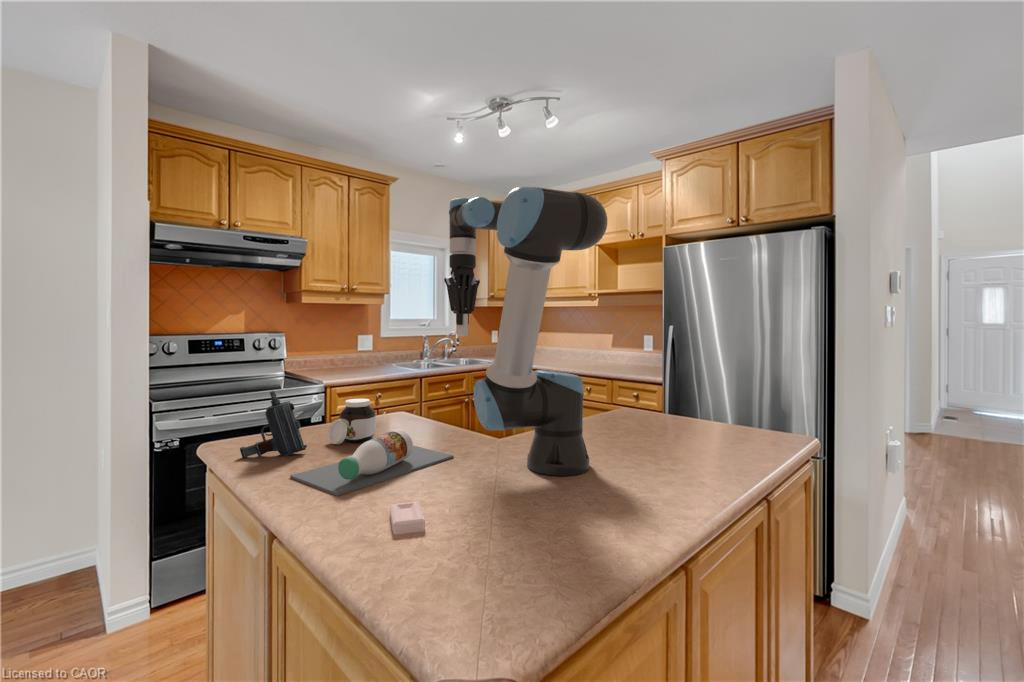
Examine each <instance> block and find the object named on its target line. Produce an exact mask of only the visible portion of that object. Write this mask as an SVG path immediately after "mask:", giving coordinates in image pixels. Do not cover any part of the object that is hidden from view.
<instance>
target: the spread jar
mask: <svg viewBox="0 0 1024 682" xmlns="http://www.w3.org/2000/svg"><path fill="white" fill-rule="evenodd" d="M344 405H345V407H344V408H343V410H341V412H340V414H339V416H338V419H334V421H332V422H331V423H330V425H329V426H328V429H327V439H328V442H329V443H330V444H331V445H340V444H342V443H344V442H347V443H349V444H350V443H351V444H359V443H361V444H363V443H365V442H367V441H369V440H371V439H373V437H375V435H376V433H377V426H378V425H377V414H376V413H377V412H376V411H375V409H374V408H372V407H371V406H370V405H371V400H370V399H369V398H351V399H346V400H345V404H344Z"/></svg>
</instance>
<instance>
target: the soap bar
mask: <svg viewBox="0 0 1024 682" xmlns="http://www.w3.org/2000/svg"><path fill="white" fill-rule="evenodd" d="M389 517H390V523H391V529H392V534H393V535H395V536H396V535H405V534H406V535H407V534H413V533H414V534H415V533H421V532H424V531H425V530H426V519H425V516H424V513H423V509H422V507H421V504H420V502H419V501H412V502H411V501H408V502H400V503H392V504H390V505H389Z"/></svg>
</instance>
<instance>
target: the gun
mask: <svg viewBox="0 0 1024 682" xmlns="http://www.w3.org/2000/svg"><path fill="white" fill-rule="evenodd" d="M269 394H270V398H271V400H270V403H271V405H270V406H268V407H266V411H265V413H264V414H265V418H266V419H267V423H268V424H266V425H264V426H263V427H262V428H261V430H260V435H261V437H262V441H257V442H256V443H255V444H251V445H249V446H241V447H239V451H240V454H241V457H242V459H246V458H248V457H251V456H253V455H254V456H255V455H257V456H258V457H261V456H263V455H264V454H266V453H269V452H278V454H279V455H280V456H281V457H283V458H284V457H286V456H289V455H292V454H296V453H300V452H302V451H306V449H307V448H308V445H307V444H305V443H304V441H303V438H302V435H301V431H300V429H301V428H302V427H301V423H300V420H297V419H296V416H295V413H294V410H295V409H296V408H295V405H294V403H291V401H290V400H287V401H283V402H281V401H280V398H278V397H277V394H276V391H275V390H273V391H270V392H269ZM267 428H269V430H270V433H264V430H265V429H267ZM265 435H266V436H267V437H271V438H269V439H266V436H265Z"/></svg>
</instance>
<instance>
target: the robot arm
mask: <svg viewBox="0 0 1024 682" xmlns="http://www.w3.org/2000/svg"><path fill="white" fill-rule="evenodd" d="M448 214H449V217H448V219H449V221H448V222H449V253H450V255H449V268H450V269H451V271H450V275H449V276H448V277H444V278H443V280H444V283H445V284H446V285H445V286H446V289H447V297H448V301H449V307H450V311H451V312H453V314H455V315H456V316H455V318H456V319H455V320H456V321H455V323H456V326H457V333H456V334H457V337H465V338H466V337H468V335H469V334H468V333H469V329H468V327H469V326H468V325H469V323H470V322H469V321H470V319H469V318H470V315H471V314H472V313H473V312H475V307H476V302H477V301H476V300H477V296H478V295H477V293H478V288H479V286H480V282H481V280H480V279H477V278H476V277H475V273H474V269H476V267H477V265H476V264H477V263H476V259H477V258H476V257H477V256H476V255H475V254H476V253H477V243H476V242H477V237H476V234H477V233H476V232H477V230H485V231H486V230H487V231H488V230H489V231H497V232H496V236H497V240H498V242H499V243H500V245H501V246H502V247H504V249H503V253H504V255H505V257H506V258H507V259H508V260H509V265H508V271H507V279H506V285H505V290H504V299H503V305H502V311H501V316H500V324H499V330H498V336H497V337H498V338H497V343H496V348H495V355H494V356H495V357H494V362H493V364H491V365H490V366H487V368H486V370H485V376H484V379H483V378H481V379H479V380H476V382H475V383H474V385H473V402H474V408H475V412H476V415H477V418H478V420H479V422H480V425H481V426H482V427H483V428H485V430H487V431H502V432H503V431H504V430H513V429H523V428H533V427H534V435H533V439H532V441H531V444H530V448H529V452H528V454H527V457H526V466H527V468H528V469H529V470H530V471H533V472H534V473H537V474H541V475H546V476H555V477H557V476H558V477H561V476H562V477H566V476H575V475H581V474H584V473H586V472H588V471H589V470H590V457H589V454H588V450H587V447H586V444H585V440H584V436H583V432H584V431H583V428H584V427H583V425H584V423H583V421H584V419H583V418H584V417H583V416H584V415H583V413H584V396H585V393H584V381H583V379H582V378H581V376H580V375H577V374H572V373H566V372H561V371H553V370H544V369H543V370H541V369H540V370H539V369H538V370H535V371H533V365H534V360H535V355H536V349H537V344H538V340H539V334H540V328H541V323H542V318H543V312H544V308H545V302H546V297H547V292H548V286H549V280H550V274H551V270H552V268H553V267H555V266H556V265H557V264H559V263H560V262H561V256H562V251H583V250H587V249H589V248H592V247H593V246H595V245H597V244H598V243H600V241H601V240H602V239H603V237H604V235H605V234H606V231H607V228H608V214H607V212H606V209H605V207H604V205H602V203H601V202H600V201H599V200H598V199H597V198H595V197H594V196H591V195H589V194H587V193H583V192H576V191H575V192H574V191H573V192H572V191H566V190H558V189H554V188H553V189H552V188H551V189H550V188H546V187H545V188H544V187H539V186H517V187H515V188H513V189H512V190H510V191H509V193H508V194H507V195H506V196H505V197H504V199H503V202H499V201H490V199H488V198H486V197H484V196H477V197H473V198H468V197H457V198H453V199H451V200H450V202H449V210H448Z"/></svg>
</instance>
